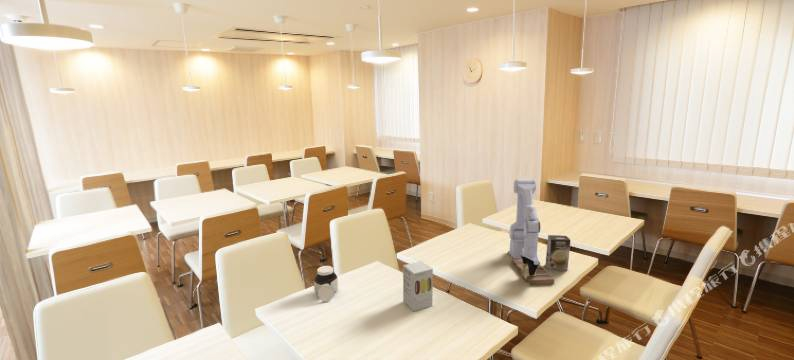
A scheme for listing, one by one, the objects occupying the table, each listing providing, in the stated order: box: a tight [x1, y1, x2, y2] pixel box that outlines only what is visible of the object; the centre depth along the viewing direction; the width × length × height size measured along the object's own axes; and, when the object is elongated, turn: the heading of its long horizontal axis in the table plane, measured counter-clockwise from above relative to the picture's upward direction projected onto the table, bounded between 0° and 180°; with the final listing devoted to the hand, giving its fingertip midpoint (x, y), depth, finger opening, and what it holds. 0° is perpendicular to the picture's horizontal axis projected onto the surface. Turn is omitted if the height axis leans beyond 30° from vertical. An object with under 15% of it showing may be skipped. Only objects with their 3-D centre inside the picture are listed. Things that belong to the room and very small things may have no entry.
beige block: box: [520, 264, 540, 279], centre depth 178 cm, size 5×8×6 cm, turn 94°
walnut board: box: [510, 257, 555, 286], centre depth 184 cm, size 24×11×3 cm, turn 4°
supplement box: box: [402, 260, 434, 312], centre depth 158 cm, size 10×9×17 cm
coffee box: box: [545, 234, 572, 271], centre depth 188 cm, size 9×6×16 cm
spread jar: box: [313, 265, 339, 303], centre depth 166 cm, size 12×11×12 cm
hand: (529, 272), depth 178 cm, fingers closed on beige block, 5 cm apart
